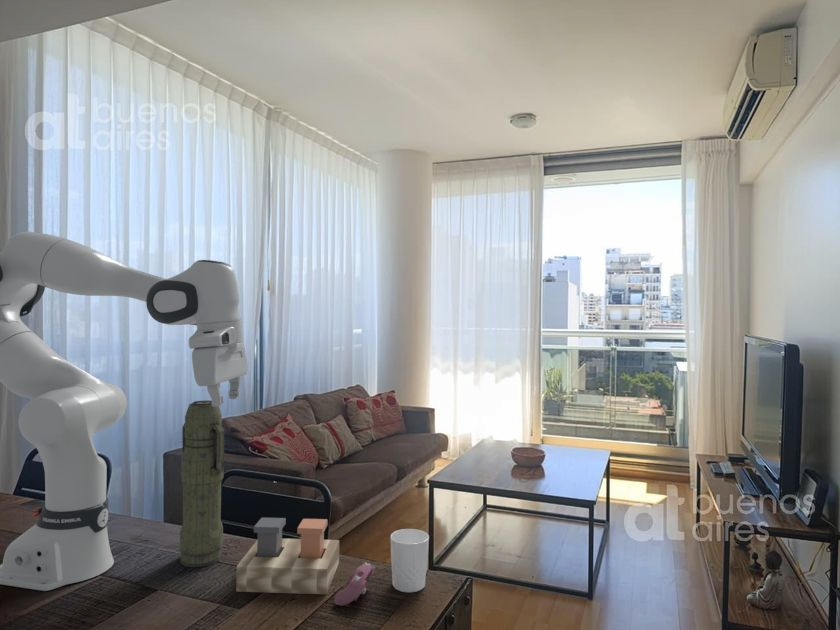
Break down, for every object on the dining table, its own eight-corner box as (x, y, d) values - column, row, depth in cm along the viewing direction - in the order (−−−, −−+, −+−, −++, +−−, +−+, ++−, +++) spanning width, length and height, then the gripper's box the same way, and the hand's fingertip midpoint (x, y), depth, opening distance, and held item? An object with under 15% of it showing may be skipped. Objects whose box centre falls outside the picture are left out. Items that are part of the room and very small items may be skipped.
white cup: (391, 575, 119) (392, 528, 119) (428, 576, 118) (429, 529, 118) (388, 593, 111) (388, 543, 111) (427, 595, 110) (428, 544, 110)
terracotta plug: (296, 560, 115) (297, 528, 114) (302, 549, 120) (303, 518, 120) (322, 561, 114) (322, 528, 114) (326, 550, 120) (327, 519, 120)
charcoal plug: (253, 559, 115) (253, 526, 115) (261, 548, 120) (261, 517, 120) (278, 560, 115) (278, 527, 115) (285, 549, 120) (285, 518, 120)
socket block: (236, 591, 110) (236, 566, 110) (258, 560, 124) (259, 537, 124) (326, 594, 110) (327, 569, 110) (338, 562, 124) (339, 540, 124)
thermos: (195, 546, 131) (197, 397, 131) (235, 555, 127) (238, 401, 127) (165, 561, 123) (167, 402, 123) (207, 571, 119) (209, 407, 118)
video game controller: (351, 617, 105) (368, 586, 104) (331, 603, 106) (347, 572, 105) (366, 591, 115) (382, 562, 114) (348, 579, 115) (363, 550, 115)
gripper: (224, 335, 128) (229, 395, 128) (184, 340, 107) (190, 411, 107) (251, 333, 128) (257, 393, 128) (216, 337, 107) (223, 409, 107)
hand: (226, 402), depth 117 cm, fingers open, 8 cm apart
